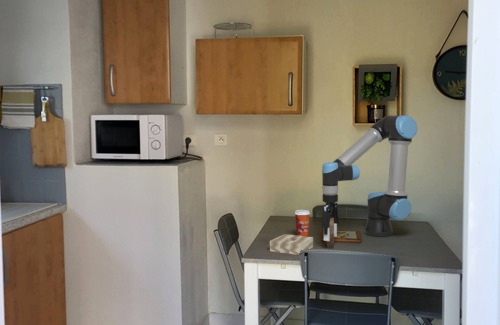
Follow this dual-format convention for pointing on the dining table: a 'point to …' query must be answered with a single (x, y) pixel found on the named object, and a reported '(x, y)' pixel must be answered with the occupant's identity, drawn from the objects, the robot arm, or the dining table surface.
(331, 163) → the robot arm
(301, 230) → the coffee cup
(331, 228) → the walnut peg
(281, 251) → the maple block
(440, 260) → the dining table surface
